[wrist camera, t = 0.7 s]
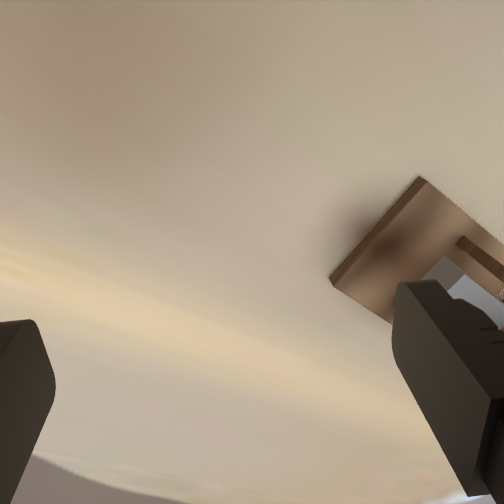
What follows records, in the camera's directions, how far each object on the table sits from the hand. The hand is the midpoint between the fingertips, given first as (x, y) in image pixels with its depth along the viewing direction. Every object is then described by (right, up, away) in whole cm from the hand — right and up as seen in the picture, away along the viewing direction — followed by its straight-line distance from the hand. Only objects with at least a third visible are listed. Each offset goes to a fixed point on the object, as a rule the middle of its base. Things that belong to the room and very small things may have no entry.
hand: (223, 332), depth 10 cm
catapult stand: (+17, 0, +33) cm, 37 cm away
